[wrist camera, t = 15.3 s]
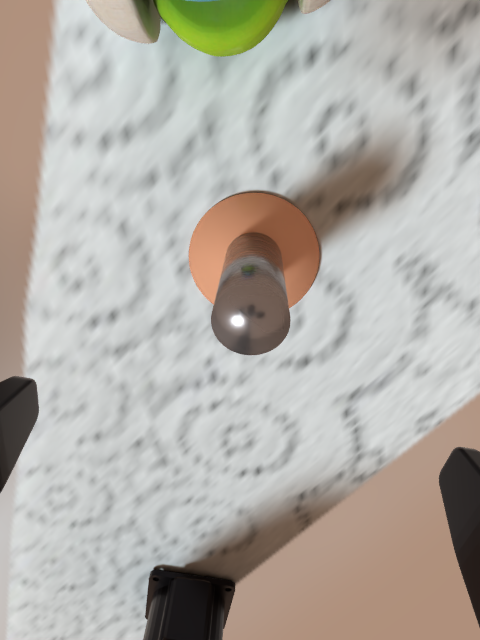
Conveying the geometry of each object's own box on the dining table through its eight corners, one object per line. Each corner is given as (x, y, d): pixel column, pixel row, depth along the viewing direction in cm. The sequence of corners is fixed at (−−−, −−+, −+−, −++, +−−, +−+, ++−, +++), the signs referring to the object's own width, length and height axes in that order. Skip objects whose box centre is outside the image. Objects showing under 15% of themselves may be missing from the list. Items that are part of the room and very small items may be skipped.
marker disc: (301, 325, 20) (302, 327, 20) (183, 305, 20) (182, 306, 20) (334, 206, 17) (335, 206, 17) (196, 181, 17) (196, 181, 17)
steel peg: (284, 282, 19) (294, 350, 14) (230, 289, 19) (218, 359, 14) (278, 228, 18) (285, 280, 12) (220, 236, 18) (204, 291, 13)
